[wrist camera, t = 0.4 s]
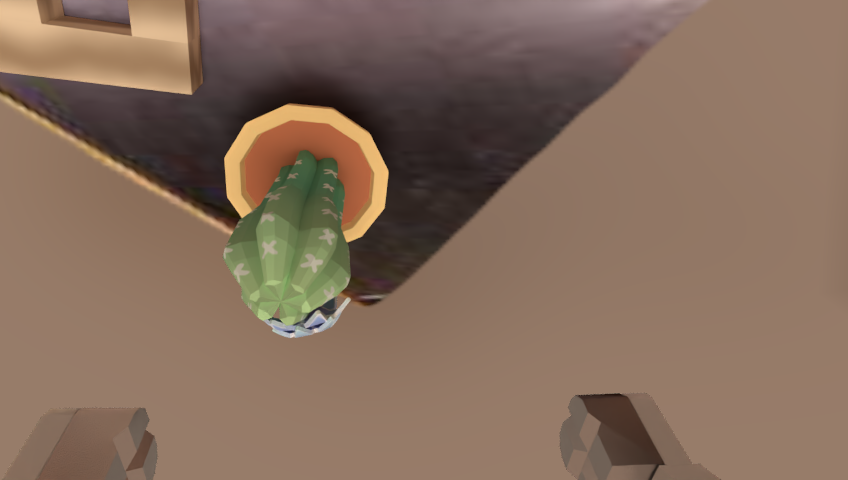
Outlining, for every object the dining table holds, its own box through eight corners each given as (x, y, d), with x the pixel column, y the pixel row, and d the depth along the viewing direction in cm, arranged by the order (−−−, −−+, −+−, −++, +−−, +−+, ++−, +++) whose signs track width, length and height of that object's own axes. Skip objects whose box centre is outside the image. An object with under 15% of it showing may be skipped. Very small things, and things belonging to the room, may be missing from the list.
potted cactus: (225, 190, 57) (146, 352, 36) (259, 55, 50) (185, 159, 29) (359, 229, 61) (358, 394, 40) (407, 111, 54) (437, 236, 33)
